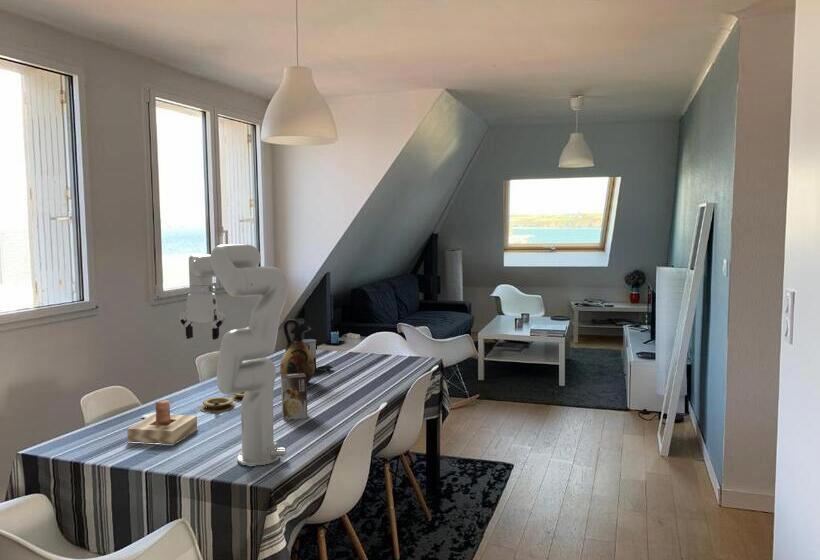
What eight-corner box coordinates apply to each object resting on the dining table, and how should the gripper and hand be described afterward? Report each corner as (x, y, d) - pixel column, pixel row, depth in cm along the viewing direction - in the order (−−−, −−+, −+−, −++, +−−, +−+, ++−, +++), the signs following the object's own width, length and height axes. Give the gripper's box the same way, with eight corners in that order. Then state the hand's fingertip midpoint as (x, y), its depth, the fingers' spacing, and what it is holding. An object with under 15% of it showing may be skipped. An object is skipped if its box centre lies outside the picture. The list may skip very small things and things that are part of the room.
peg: (173, 434, 209) (172, 400, 207) (166, 439, 204) (165, 404, 203) (161, 433, 209) (160, 399, 208) (154, 438, 205) (152, 403, 204)
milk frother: (296, 368, 304) (295, 339, 303) (327, 365, 310) (326, 337, 309) (302, 375, 291) (301, 344, 290) (334, 372, 297) (333, 342, 295)
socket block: (197, 429, 213) (196, 415, 213) (172, 446, 198) (172, 431, 197) (155, 427, 216) (154, 413, 215) (127, 443, 200) (127, 428, 200)
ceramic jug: (318, 381, 280) (318, 316, 277) (310, 390, 265) (309, 322, 262) (283, 380, 282) (281, 316, 279) (272, 389, 266) (270, 321, 264)
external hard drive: (161, 425, 219) (141, 419, 226) (181, 419, 226) (160, 414, 233) (161, 421, 219) (141, 415, 226) (181, 415, 226) (160, 409, 233)
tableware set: (223, 418, 229) (222, 402, 228) (186, 410, 238) (186, 395, 238) (276, 398, 255) (275, 384, 254) (241, 392, 264) (240, 378, 264)
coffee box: (306, 413, 232) (305, 372, 230) (307, 418, 226) (307, 376, 224) (281, 415, 229) (280, 374, 228) (282, 420, 223) (281, 378, 222)
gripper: (229, 289, 213) (230, 337, 214) (183, 288, 215) (185, 335, 217) (219, 291, 205) (220, 341, 207) (172, 290, 208) (173, 339, 210)
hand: (202, 338), depth 212 cm, fingers open, 9 cm apart
